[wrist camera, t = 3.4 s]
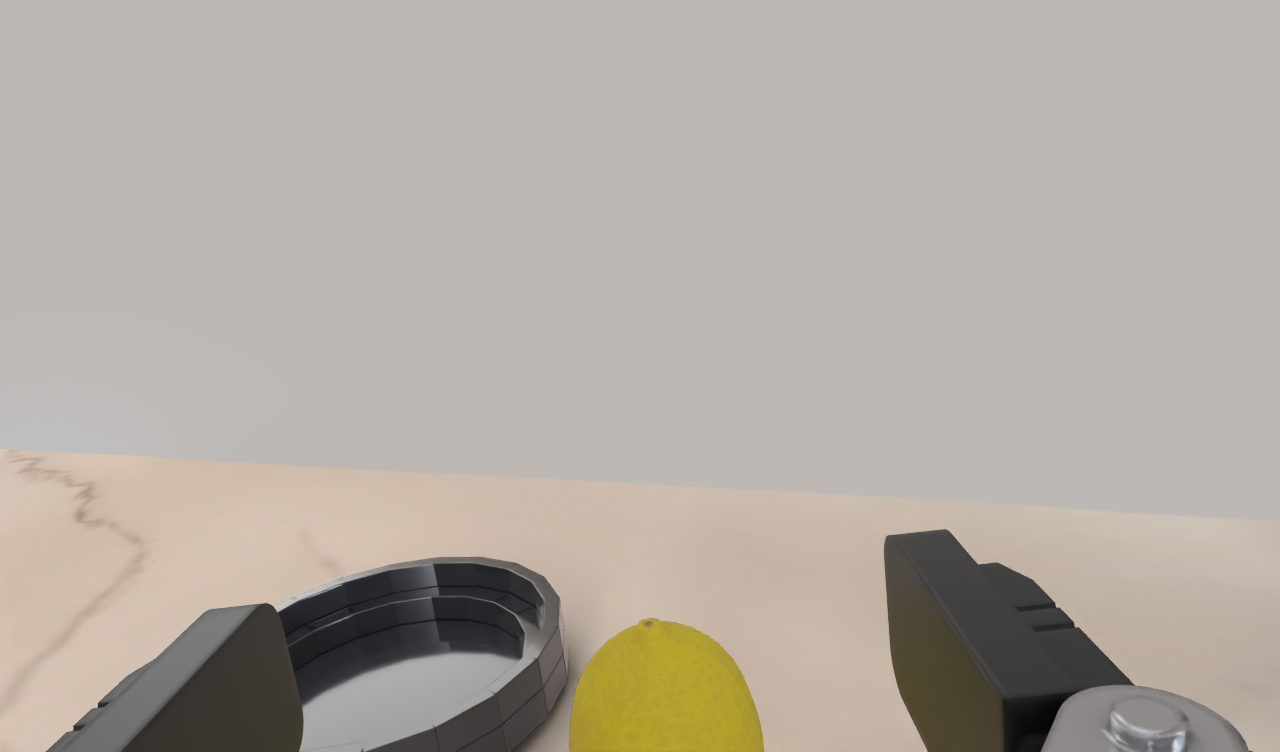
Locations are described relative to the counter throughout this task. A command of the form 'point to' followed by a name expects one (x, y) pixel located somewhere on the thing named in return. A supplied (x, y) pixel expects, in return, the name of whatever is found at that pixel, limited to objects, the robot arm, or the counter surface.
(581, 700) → the lemon
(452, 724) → the pan
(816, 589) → the counter surface
